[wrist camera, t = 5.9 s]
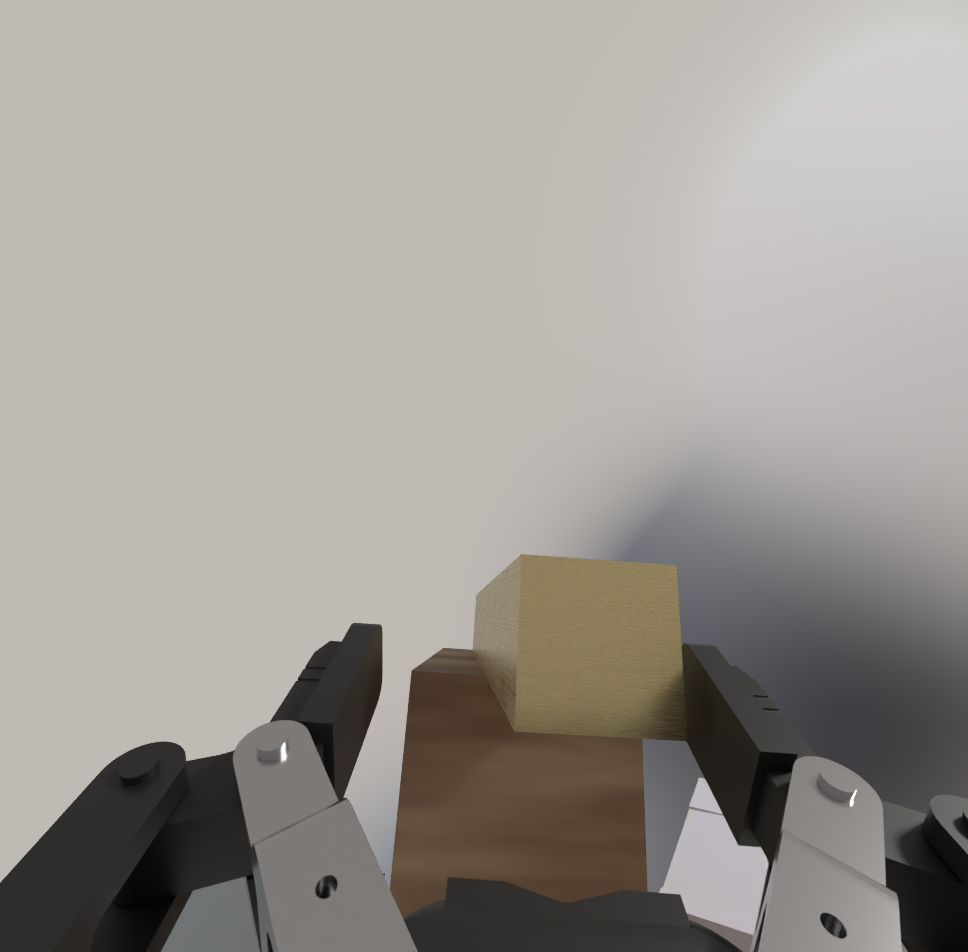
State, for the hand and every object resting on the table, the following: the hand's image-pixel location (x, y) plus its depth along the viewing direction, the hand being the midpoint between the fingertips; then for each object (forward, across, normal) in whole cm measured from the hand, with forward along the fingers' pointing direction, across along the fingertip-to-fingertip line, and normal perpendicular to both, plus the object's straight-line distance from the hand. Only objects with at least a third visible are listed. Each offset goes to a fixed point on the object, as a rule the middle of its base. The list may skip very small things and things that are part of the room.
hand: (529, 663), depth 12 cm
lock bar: (+8, +1, -6) cm, 11 cm away
